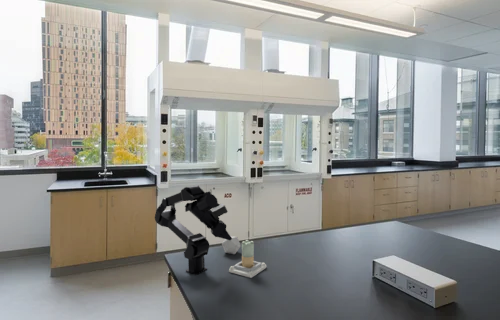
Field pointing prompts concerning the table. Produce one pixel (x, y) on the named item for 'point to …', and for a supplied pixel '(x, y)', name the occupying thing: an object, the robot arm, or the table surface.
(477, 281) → the table surface
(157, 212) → the robot arm
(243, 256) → the tan and green cylinder
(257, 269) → the baseplate
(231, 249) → the die
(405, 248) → the table surface
